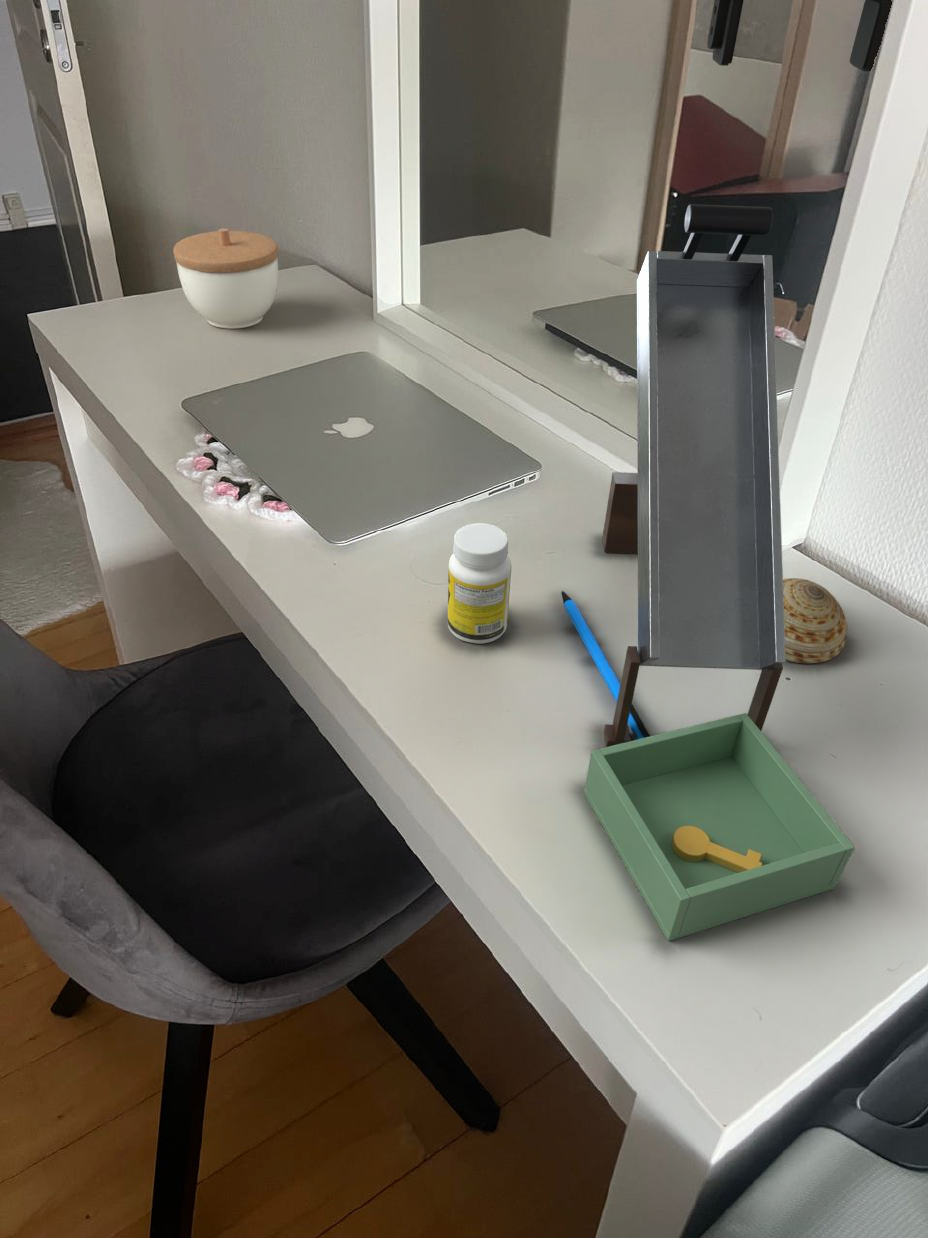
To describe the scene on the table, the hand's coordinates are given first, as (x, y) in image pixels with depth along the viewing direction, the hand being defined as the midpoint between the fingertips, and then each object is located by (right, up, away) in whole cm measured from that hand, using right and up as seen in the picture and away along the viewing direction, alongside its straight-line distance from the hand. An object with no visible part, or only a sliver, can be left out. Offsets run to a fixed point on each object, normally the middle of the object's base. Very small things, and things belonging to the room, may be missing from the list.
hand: (790, 65), depth 63 cm
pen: (-12, -42, +5) cm, 44 cm away
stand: (-7, -39, +9) cm, 41 cm away
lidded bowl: (-52, +1, +56) cm, 77 cm away
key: (-7, -52, -8) cm, 53 cm away
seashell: (+3, -39, +10) cm, 40 cm away
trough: (-7, -28, -2) cm, 29 cm away
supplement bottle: (-22, -39, +9) cm, 45 cm away
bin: (-8, -52, -6) cm, 53 cm away
